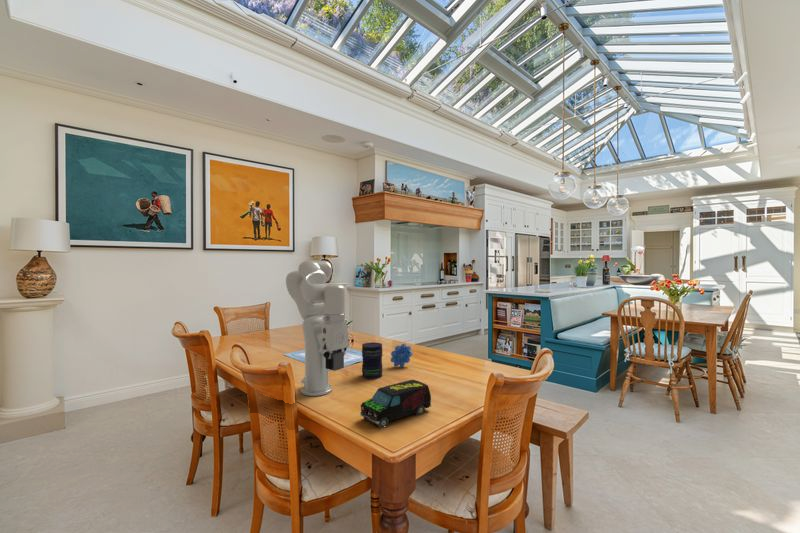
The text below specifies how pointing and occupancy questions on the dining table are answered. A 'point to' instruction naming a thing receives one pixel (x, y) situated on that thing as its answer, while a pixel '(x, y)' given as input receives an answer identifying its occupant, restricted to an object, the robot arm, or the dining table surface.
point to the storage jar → (372, 360)
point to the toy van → (396, 402)
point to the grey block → (337, 360)
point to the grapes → (401, 355)
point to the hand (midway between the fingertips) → (334, 366)
